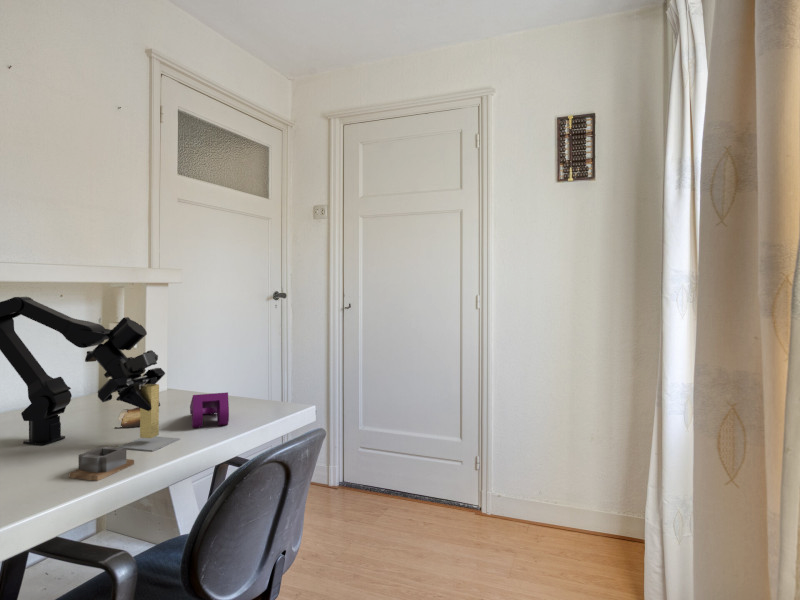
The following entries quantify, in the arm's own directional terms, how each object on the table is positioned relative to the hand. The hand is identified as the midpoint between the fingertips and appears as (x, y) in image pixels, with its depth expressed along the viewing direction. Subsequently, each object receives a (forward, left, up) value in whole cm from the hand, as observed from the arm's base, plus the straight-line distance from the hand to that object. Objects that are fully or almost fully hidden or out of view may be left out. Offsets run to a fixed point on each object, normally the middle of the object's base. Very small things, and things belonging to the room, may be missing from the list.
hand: (154, 408), depth 126 cm
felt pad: (-1, 0, -9) cm, 9 cm away
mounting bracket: (0, +23, -10) cm, 25 cm away
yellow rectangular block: (-1, 0, -7) cm, 7 cm away
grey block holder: (+2, -19, -9) cm, 21 cm away
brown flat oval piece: (-23, +21, -10) cm, 33 cm away
